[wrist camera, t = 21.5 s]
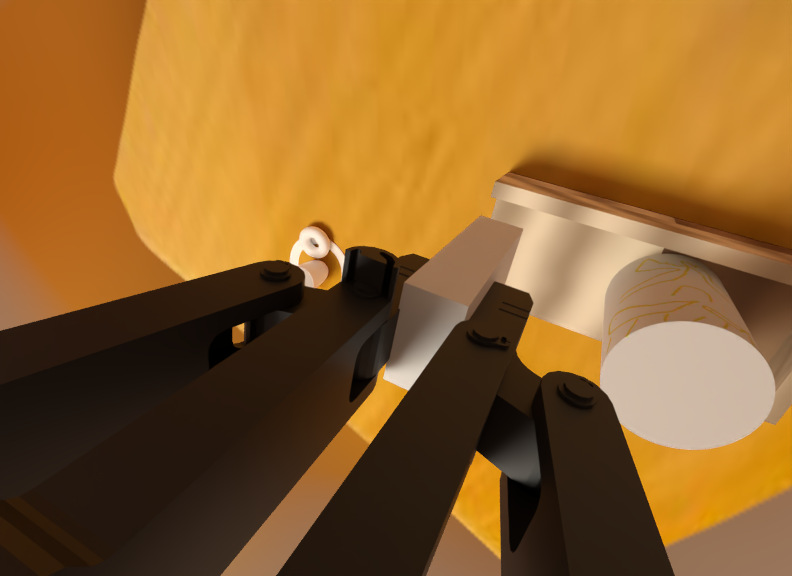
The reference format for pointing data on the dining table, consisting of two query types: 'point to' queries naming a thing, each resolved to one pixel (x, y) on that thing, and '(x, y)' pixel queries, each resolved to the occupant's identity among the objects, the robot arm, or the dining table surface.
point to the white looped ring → (315, 255)
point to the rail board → (628, 241)
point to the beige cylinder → (681, 356)
